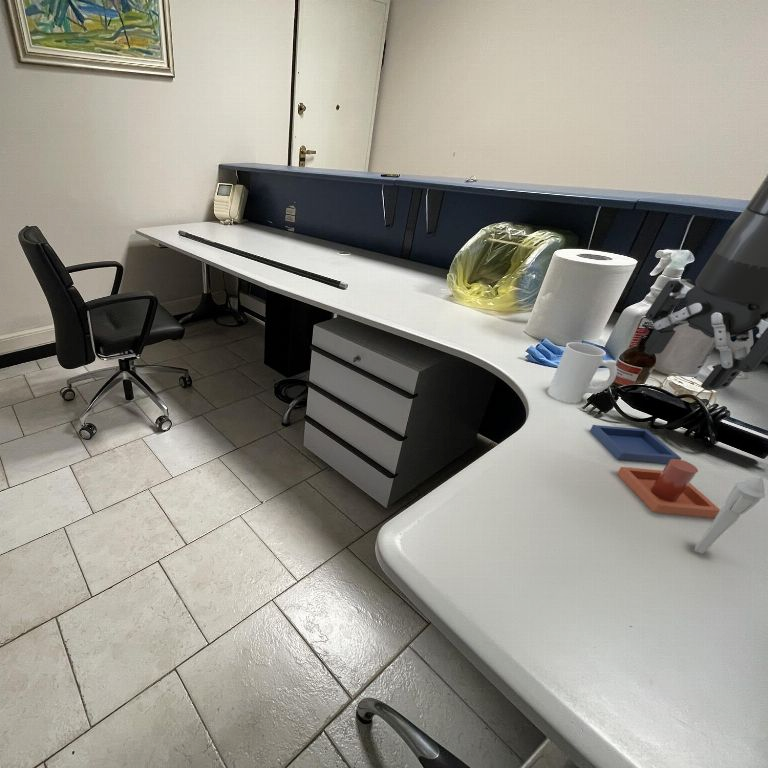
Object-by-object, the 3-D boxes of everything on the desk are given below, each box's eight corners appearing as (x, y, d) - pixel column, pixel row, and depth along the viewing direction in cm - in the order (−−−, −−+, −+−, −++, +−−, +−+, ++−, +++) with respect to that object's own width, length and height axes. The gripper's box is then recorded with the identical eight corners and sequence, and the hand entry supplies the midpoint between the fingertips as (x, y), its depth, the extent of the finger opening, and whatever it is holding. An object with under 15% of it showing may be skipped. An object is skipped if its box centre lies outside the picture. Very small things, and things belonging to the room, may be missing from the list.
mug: (543, 397, 91) (564, 348, 85) (548, 386, 96) (568, 339, 90) (598, 414, 85) (625, 363, 79) (601, 401, 90) (626, 352, 84)
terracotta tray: (670, 481, 68) (677, 471, 67) (714, 521, 61) (722, 511, 60) (615, 476, 69) (621, 466, 68) (651, 514, 62) (658, 505, 61)
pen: (710, 553, 56) (776, 476, 49) (708, 565, 54) (777, 487, 47) (685, 542, 57) (746, 466, 50) (683, 553, 56) (746, 476, 49)
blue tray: (641, 437, 79) (646, 429, 78) (675, 467, 71) (681, 458, 70) (588, 433, 80) (592, 424, 78) (616, 462, 72) (621, 453, 71)
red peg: (666, 488, 66) (687, 459, 63) (682, 502, 63) (704, 473, 60) (645, 486, 66) (664, 457, 63) (659, 500, 63) (680, 471, 60)
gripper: (874, 275, 41) (760, 399, 50) (729, 231, 52) (659, 340, 62) (804, 282, 40) (703, 405, 50) (673, 236, 52) (612, 344, 61)
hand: (679, 369), depth 56 cm, fingers open, 8 cm apart
